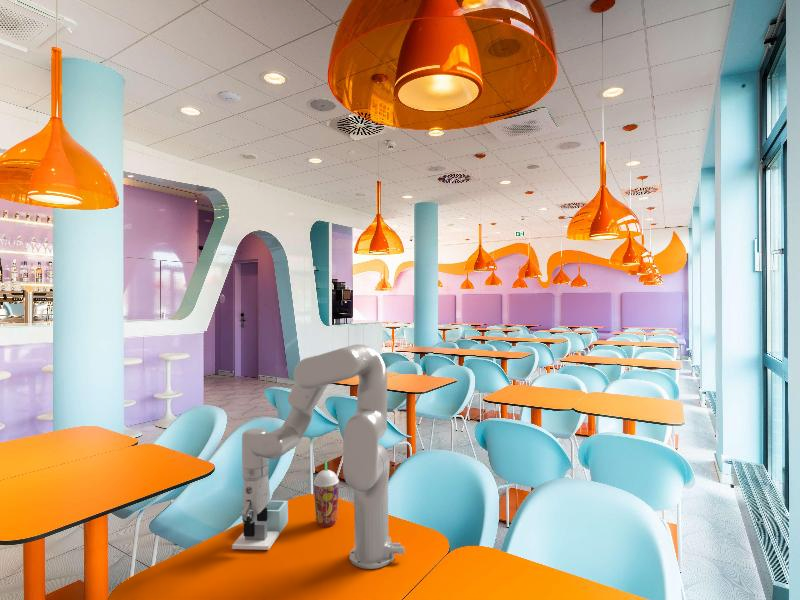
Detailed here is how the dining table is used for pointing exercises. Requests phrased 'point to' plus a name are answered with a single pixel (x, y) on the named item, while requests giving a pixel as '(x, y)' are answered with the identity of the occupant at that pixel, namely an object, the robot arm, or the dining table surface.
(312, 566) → the dining table surface
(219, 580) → the dining table surface
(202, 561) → the dining table surface
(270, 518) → the tub
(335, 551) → the dining table surface
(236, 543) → the lid
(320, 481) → the smoothie
